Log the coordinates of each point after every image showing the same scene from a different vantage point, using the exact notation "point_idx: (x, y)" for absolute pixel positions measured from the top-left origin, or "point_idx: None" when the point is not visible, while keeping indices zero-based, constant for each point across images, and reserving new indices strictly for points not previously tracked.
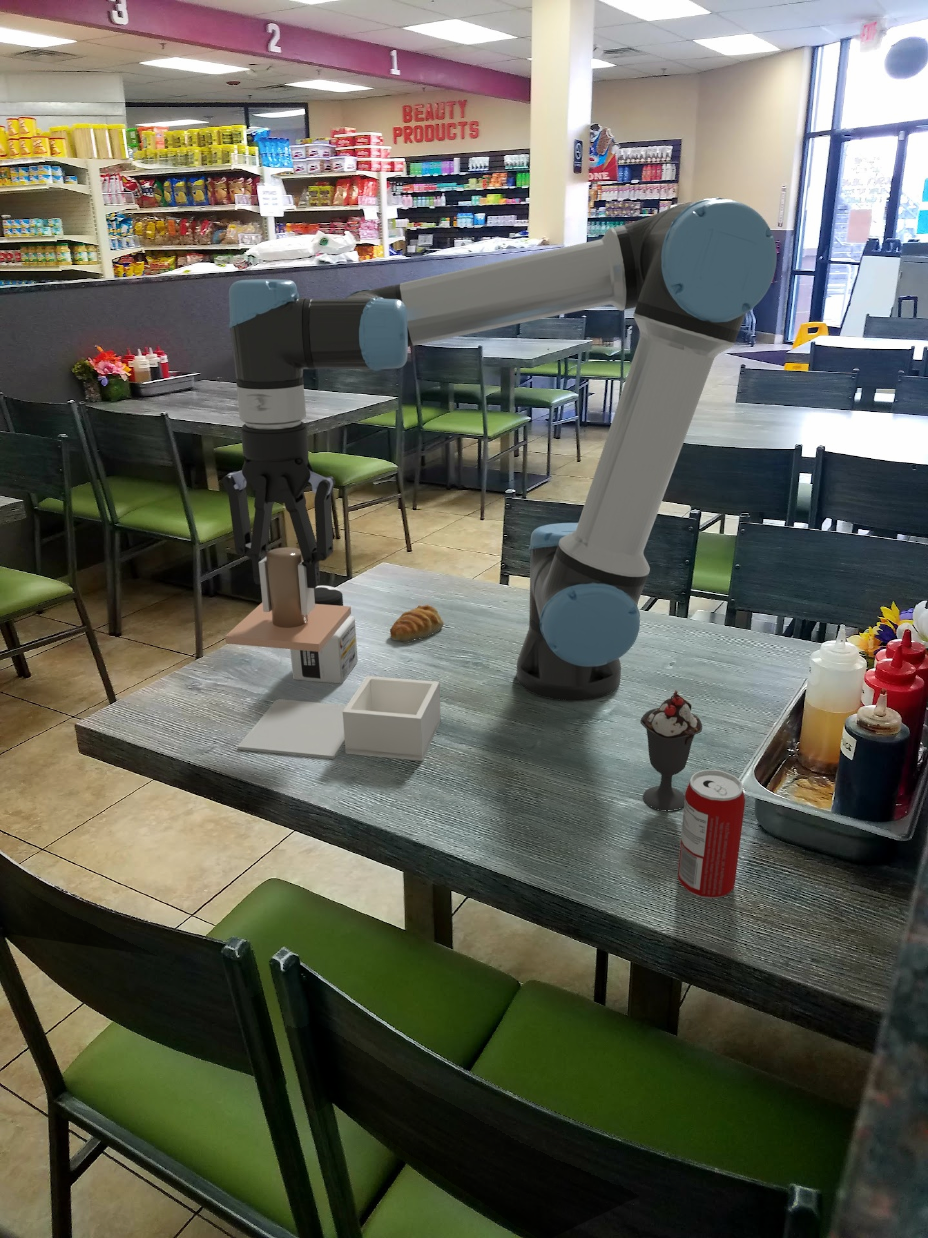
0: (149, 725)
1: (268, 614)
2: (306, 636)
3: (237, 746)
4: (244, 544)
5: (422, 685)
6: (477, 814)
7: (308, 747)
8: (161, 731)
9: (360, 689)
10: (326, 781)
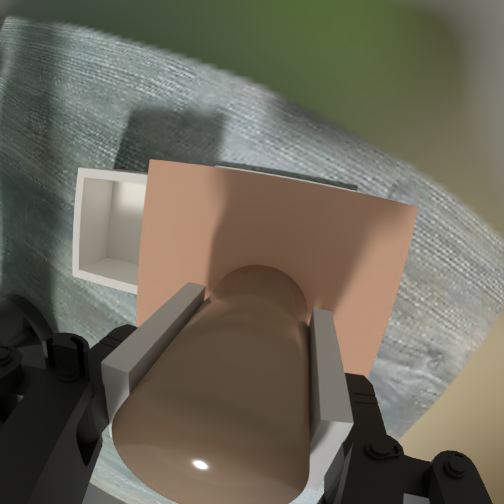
0: (473, 259)
1: None
2: (189, 205)
3: (356, 191)
4: (438, 501)
5: (91, 271)
6: (68, 84)
7: None
8: (459, 243)
9: None
10: (216, 113)
